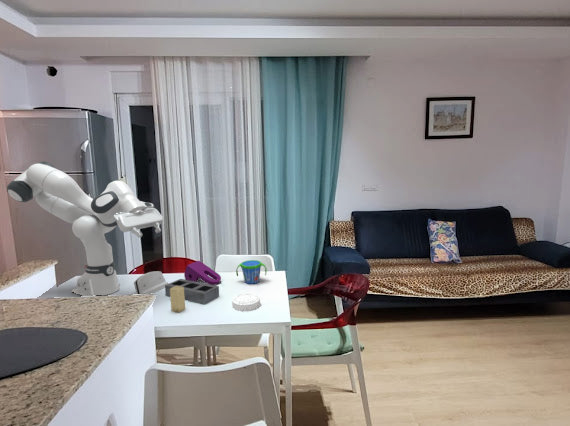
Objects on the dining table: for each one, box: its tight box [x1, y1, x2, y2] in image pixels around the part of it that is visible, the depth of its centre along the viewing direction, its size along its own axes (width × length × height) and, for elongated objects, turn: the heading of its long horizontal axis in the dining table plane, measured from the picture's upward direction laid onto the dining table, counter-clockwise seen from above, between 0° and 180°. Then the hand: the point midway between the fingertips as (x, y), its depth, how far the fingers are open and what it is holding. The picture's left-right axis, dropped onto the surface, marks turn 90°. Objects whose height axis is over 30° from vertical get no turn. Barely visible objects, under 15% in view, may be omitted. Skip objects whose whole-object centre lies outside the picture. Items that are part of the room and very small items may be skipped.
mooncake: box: [231, 293, 261, 312], centre depth 150 cm, size 12×12×4 cm
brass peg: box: [169, 286, 186, 314], centre depth 146 cm, size 4×4×10 cm
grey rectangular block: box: [164, 278, 220, 305], centre depth 162 cm, size 24×10×5 cm, turn 61°
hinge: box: [133, 270, 169, 295], centre depth 170 cm, size 17×5×10 cm, turn 157°
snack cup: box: [235, 259, 267, 285], centre depth 179 cm, size 16×10×10 cm
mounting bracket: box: [183, 260, 222, 286], centre depth 181 cm, size 10×8×18 cm
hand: (150, 234), depth 149 cm, fingers open, 8 cm apart
